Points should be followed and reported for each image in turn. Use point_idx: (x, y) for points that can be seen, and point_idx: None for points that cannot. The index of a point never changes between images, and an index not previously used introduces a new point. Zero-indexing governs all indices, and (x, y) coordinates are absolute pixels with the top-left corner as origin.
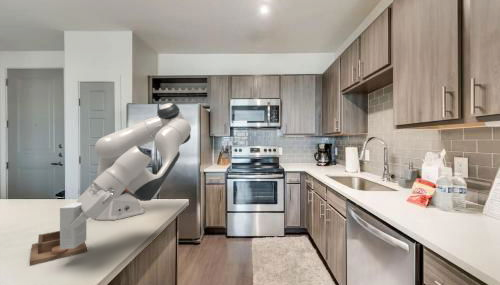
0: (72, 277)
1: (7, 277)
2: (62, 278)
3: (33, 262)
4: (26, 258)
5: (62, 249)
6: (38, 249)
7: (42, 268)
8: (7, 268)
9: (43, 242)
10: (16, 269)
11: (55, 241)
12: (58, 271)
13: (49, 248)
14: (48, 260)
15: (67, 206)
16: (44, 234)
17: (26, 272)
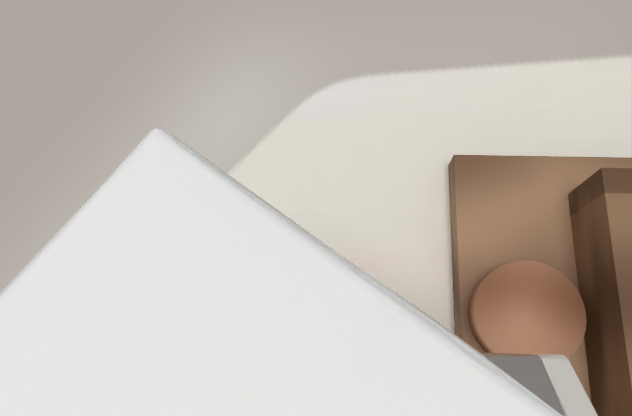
0: None
1: (354, 86)
2: None
3: (452, 176)
4: (594, 148)
5: (477, 326)
6: (583, 185)
7: (353, 221)
8: (487, 77)
9: (630, 200)
10: (439, 113)
11: (612, 281)
12: None
13: (586, 251)
14: (454, 252)
15: (139, 271)
16: None
17: (355, 154)
